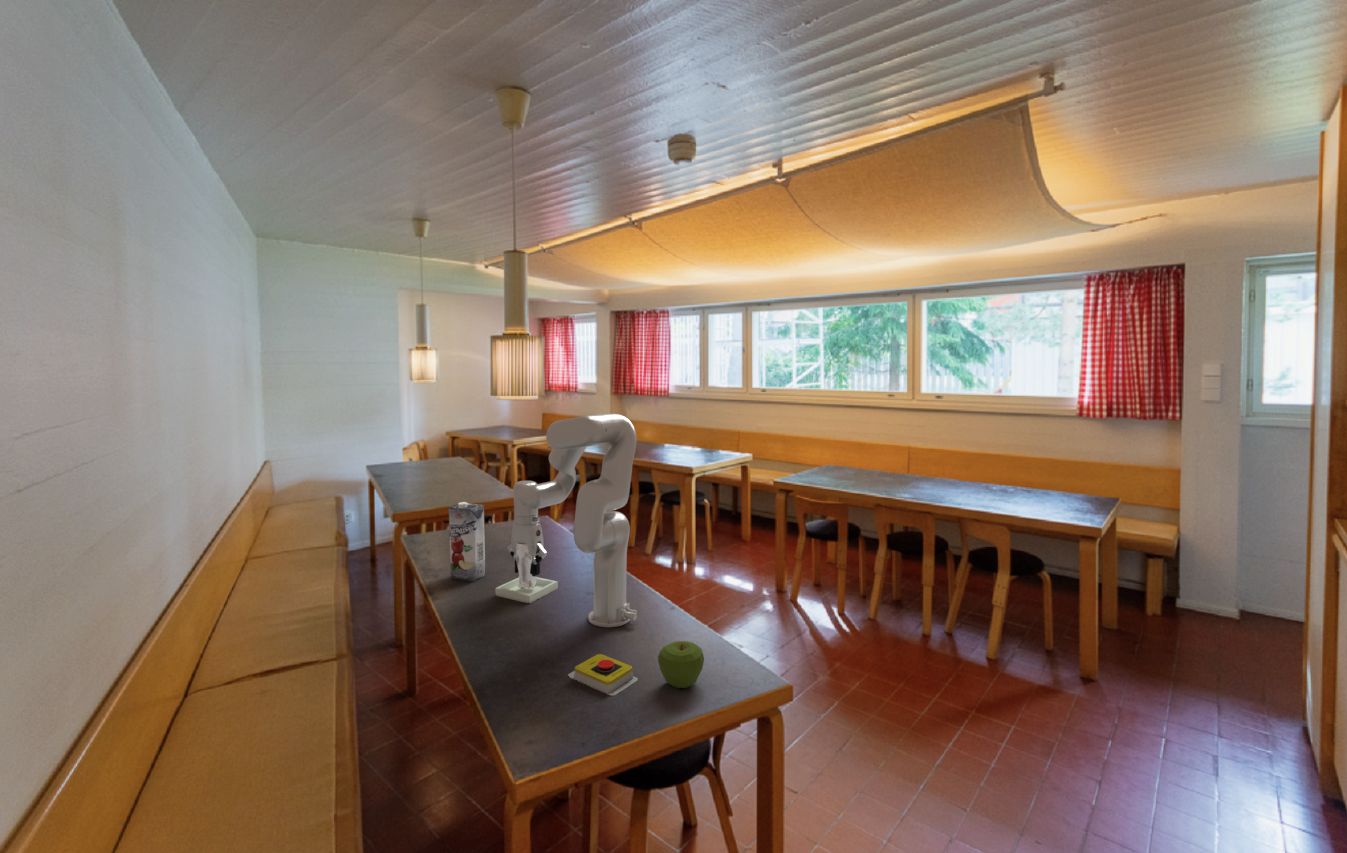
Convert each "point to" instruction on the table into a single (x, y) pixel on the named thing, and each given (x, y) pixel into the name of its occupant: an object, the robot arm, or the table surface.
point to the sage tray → (526, 590)
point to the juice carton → (467, 541)
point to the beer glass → (525, 567)
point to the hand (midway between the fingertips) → (527, 573)
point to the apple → (681, 663)
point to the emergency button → (604, 674)
